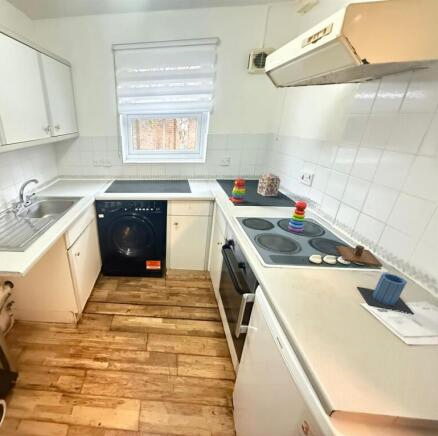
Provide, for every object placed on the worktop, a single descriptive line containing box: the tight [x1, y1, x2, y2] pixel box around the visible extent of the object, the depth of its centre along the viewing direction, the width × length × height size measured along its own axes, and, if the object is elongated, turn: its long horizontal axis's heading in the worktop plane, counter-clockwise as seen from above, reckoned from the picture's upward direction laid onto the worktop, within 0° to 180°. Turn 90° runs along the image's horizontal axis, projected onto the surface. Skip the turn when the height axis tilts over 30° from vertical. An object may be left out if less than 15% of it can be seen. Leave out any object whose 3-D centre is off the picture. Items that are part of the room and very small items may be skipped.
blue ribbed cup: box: [372, 272, 408, 305], centre depth 82 cm, size 6×6×9 cm
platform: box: [334, 244, 383, 268], centre depth 107 cm, size 13×13×7 cm
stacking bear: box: [228, 177, 246, 204], centre depth 182 cm, size 11×10×18 cm
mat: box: [356, 286, 415, 315], centre depth 84 cm, size 12×10×1 cm
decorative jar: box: [256, 172, 281, 198], centre depth 197 cm, size 12×12×18 cm
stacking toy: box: [287, 200, 308, 233], centre depth 130 cm, size 8×8×19 cm
